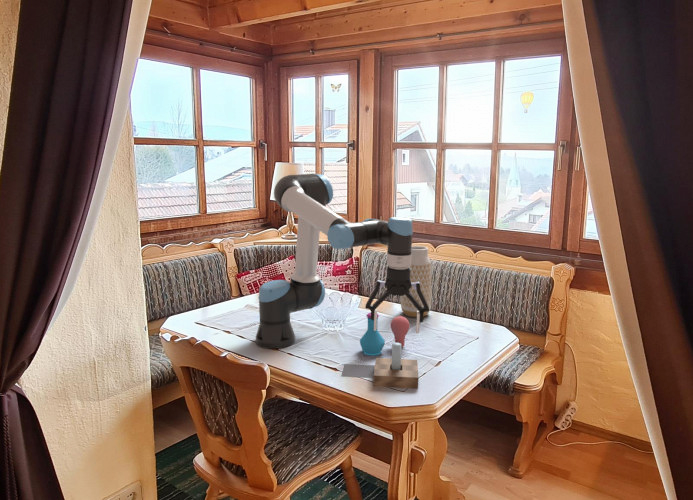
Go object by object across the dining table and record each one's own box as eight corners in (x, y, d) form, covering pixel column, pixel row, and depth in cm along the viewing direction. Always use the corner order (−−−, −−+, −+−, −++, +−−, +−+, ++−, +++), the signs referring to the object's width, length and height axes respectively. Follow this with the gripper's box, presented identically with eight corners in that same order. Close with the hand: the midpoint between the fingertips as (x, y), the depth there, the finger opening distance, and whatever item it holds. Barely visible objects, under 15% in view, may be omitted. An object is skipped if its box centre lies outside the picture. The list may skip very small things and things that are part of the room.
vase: (435, 312, 242) (438, 246, 235) (423, 321, 230) (425, 252, 224) (408, 307, 249) (410, 243, 243) (394, 315, 237) (396, 248, 231)
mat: (341, 377, 175) (341, 376, 175) (344, 364, 185) (344, 363, 184) (377, 379, 174) (377, 378, 174) (378, 366, 183) (378, 365, 183)
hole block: (373, 387, 168) (373, 375, 167) (375, 368, 182) (375, 357, 181) (418, 389, 166) (418, 377, 166) (416, 370, 180) (417, 359, 179)
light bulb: (396, 351, 196) (397, 320, 194) (386, 345, 203) (387, 315, 200) (412, 348, 200) (413, 318, 197) (402, 342, 206) (402, 312, 204)
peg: (391, 380, 173) (392, 345, 170) (391, 376, 176) (392, 342, 173) (400, 381, 172) (401, 346, 170) (400, 377, 175) (401, 342, 173)
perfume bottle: (358, 348, 199) (358, 310, 196) (382, 347, 200) (383, 309, 197) (361, 358, 190) (361, 318, 188) (386, 357, 191) (387, 317, 188)
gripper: (358, 267, 164) (356, 332, 169) (439, 271, 162) (436, 336, 166) (360, 262, 171) (358, 324, 176) (438, 265, 169) (434, 328, 173)
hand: (396, 330), depth 171 cm, fingers open, 13 cm apart
